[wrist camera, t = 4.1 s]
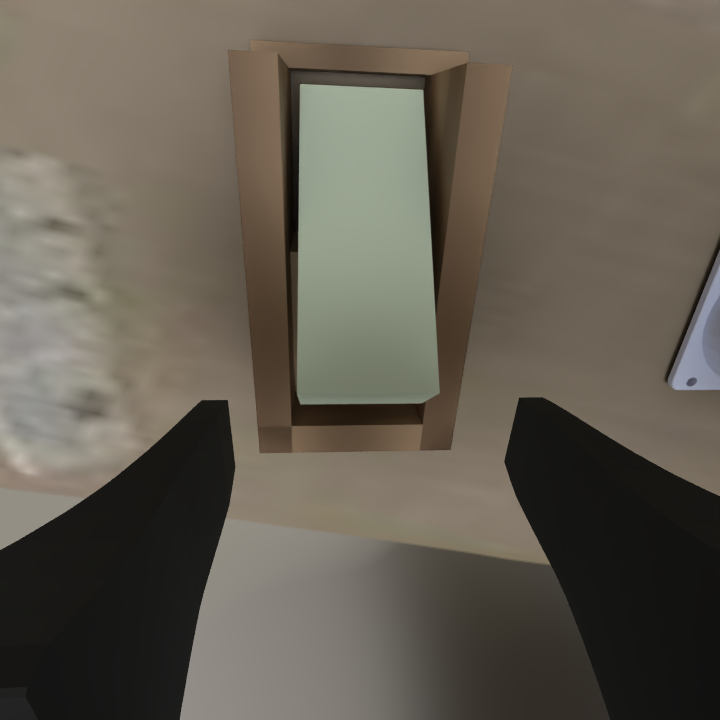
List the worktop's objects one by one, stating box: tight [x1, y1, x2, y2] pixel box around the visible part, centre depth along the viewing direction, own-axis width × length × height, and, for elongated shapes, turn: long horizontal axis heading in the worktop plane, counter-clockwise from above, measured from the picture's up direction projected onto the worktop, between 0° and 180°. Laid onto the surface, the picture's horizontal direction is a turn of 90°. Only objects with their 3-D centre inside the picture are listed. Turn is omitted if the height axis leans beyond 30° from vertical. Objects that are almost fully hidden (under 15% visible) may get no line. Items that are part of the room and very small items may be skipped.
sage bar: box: [297, 84, 440, 404], centre depth 15 cm, size 4×10×2 cm
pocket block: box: [228, 40, 513, 453], centre depth 17 cm, size 7×13×5 cm, turn 178°
